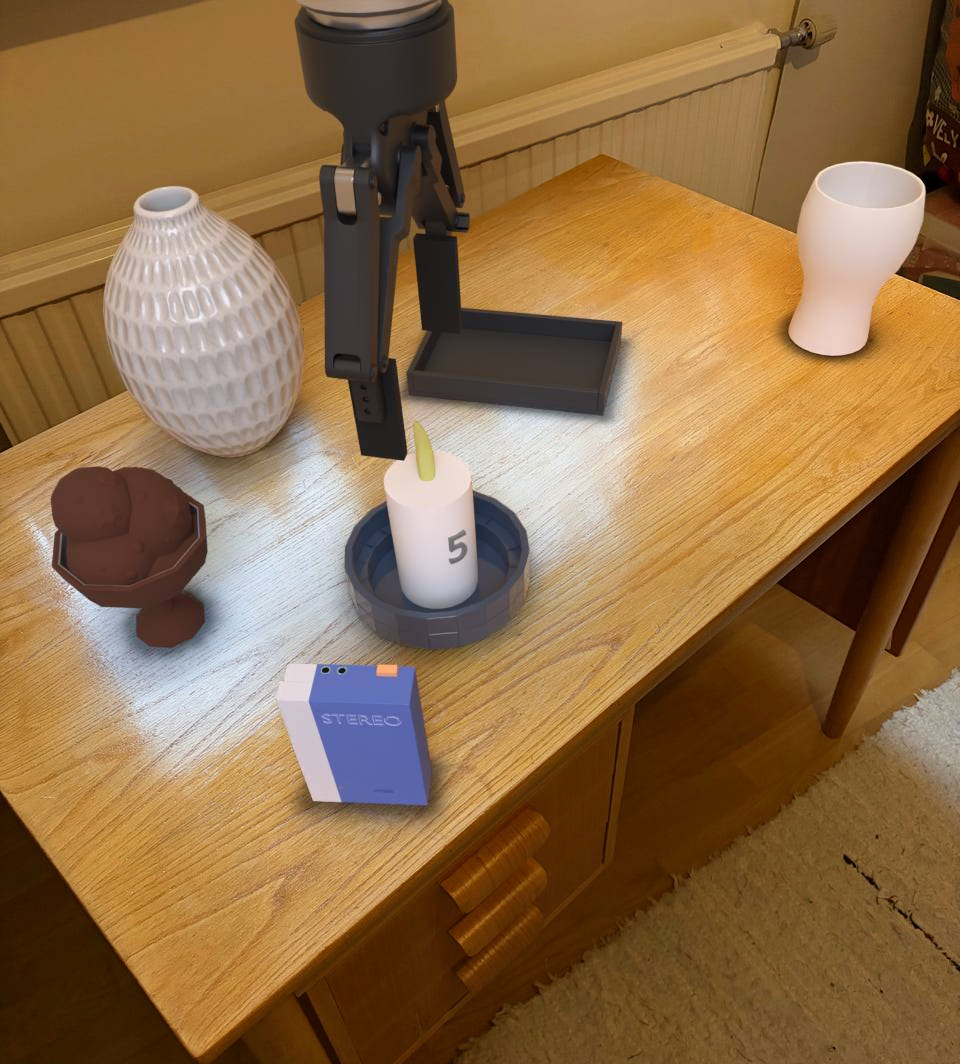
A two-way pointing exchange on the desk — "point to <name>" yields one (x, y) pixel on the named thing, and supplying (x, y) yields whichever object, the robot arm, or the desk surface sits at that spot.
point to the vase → (202, 326)
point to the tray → (520, 361)
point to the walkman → (357, 732)
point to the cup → (852, 250)
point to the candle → (432, 525)
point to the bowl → (450, 627)
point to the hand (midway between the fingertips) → (415, 387)
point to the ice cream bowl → (132, 547)
